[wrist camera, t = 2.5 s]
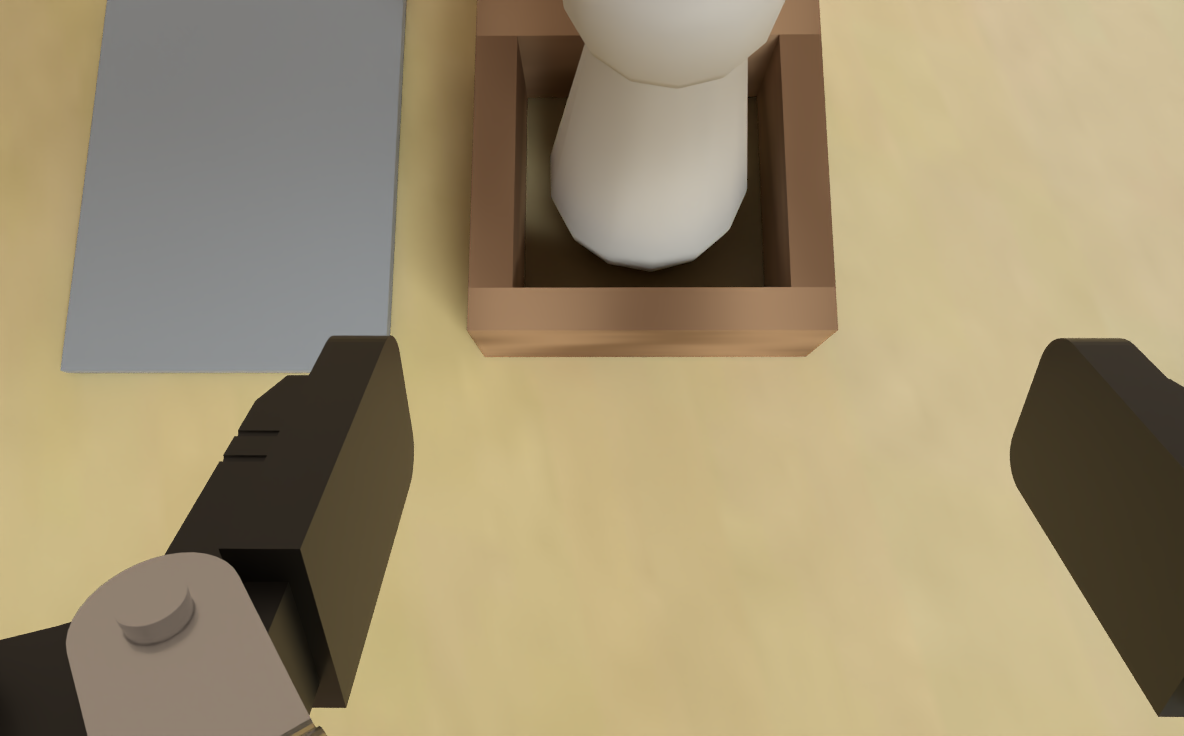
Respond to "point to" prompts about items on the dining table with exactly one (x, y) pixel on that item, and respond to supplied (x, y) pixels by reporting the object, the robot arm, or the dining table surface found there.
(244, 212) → the rubber mat
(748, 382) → the dining table surface
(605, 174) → the salt shaker
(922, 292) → the dining table surface
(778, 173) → the pocket block
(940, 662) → the dining table surface
